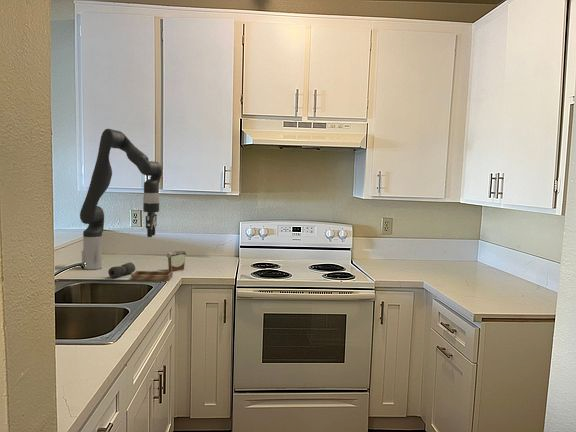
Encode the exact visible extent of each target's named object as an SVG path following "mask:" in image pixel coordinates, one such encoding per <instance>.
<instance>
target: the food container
mask: <svg viewBox="0 0 576 432" xmlns="http://www.w3.org/2000/svg"><path fill="white" fill-rule="evenodd" d="M186 256H187V251H186V250H185V251H184V250H173V251H172V250H170V251H168V252H167V254H166V258H167V264H168V265H167V267H168V272H173V273H175V272H180V271H184V270H185V264H186V263H185V262H186Z"/></svg>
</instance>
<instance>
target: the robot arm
mask: <svg viewBox="0 0 576 432" xmlns="http://www.w3.org/2000/svg"><path fill="white" fill-rule="evenodd" d="M111 149H118V150H120V151H123V152H124V153H125V154H126V157H127V159H128V160H129V161H130V162H131V163H133V164H134V165H135V167H136V168H137V169H138V170H139V172H140V173H141V174H143V176H147V177H148V176H149V178H150V179H149V180H146V181H144V183H143V197H142V198H143V199H142V202H143V204H142V206H143V207H142V208H143V209H142V211H143V212H144V213H147V215H145V229H146V235H147V237H148V238H152V237H153V236H155V235H156V228H157V224H158V223H157V219H158V217H157V216H158V215H157V213H159V212H160V189H159V188H160V186H159V185H160V183H161V178H162V174H163V166H162V164H161V163H160V162H159V161H154V160H153V161H152V160H151V161H149V157H148V156H147V154H145V153H144V152H143V151H142V150H140V149H139V148H138V147H136V146H135V145H134V144H133V142H132V141H131V140H130V139H129V138H128V137H127V136H126V134H124V132H122V131H120V130H116V129H112V128H106V129H104V130H103V131H102V133H101V136H100V141H99V146H98V152H97V156H96V161H95V164H94V169H93V172H92V175H91V179H90V183H89V185H88V189H87V192H86V193H87V194H86V196H85V199H84V202H83V203H82V206H81V209H80V212H79V218H80V220H81V223H83V224H84V225H85V224H86V225H88V226H87V227H86V229H84V230H83V233H82V235H83V236H82V250H81V264H82V263H83V262H86V263H87V267H86V268H84V269H83V270H99V269H102V268H103V267H102V266H103V262H102V261H103V260H102V259H103V251H102V250H103V232H104V229H105V227H104V226H105V224H104V223H105V213H104V212H105V211H104V210H103V208H102V207H101V206H99V205H98V204H99V201H100V199H101V197H102V196H103V195H104V194H105V193H106V191H107V189H108V188H109V187H110V184H111V179H112V177H113V170H112V169H113V168H112V166H111V162H110V153H111Z"/></svg>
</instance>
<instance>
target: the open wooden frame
mask: <svg viewBox="0 0 576 432" xmlns="http://www.w3.org/2000/svg"><path fill="white" fill-rule="evenodd" d="M173 273H174V272H169V271H167V270H165V271H164V270H163V271H161V270H160V271H159V270H158V271H157V270H156V271H154V270H135V271H134V272H132V273H131V280H130V281H159V282H163V281H164V282H169V281H171V279H172V278H173V276H174V275H173Z"/></svg>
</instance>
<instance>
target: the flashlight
mask: <svg viewBox="0 0 576 432" xmlns="http://www.w3.org/2000/svg"><path fill="white" fill-rule="evenodd" d="M136 268H137V267H136V264H135V263H134V262H132V261H129V262H126V263H124V264H121V265H119V266H112V267H110V268H109V269H108V276H109V277H111V278H117V277H119V276H122V275H127V274H133V273H135V272H136Z"/></svg>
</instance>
